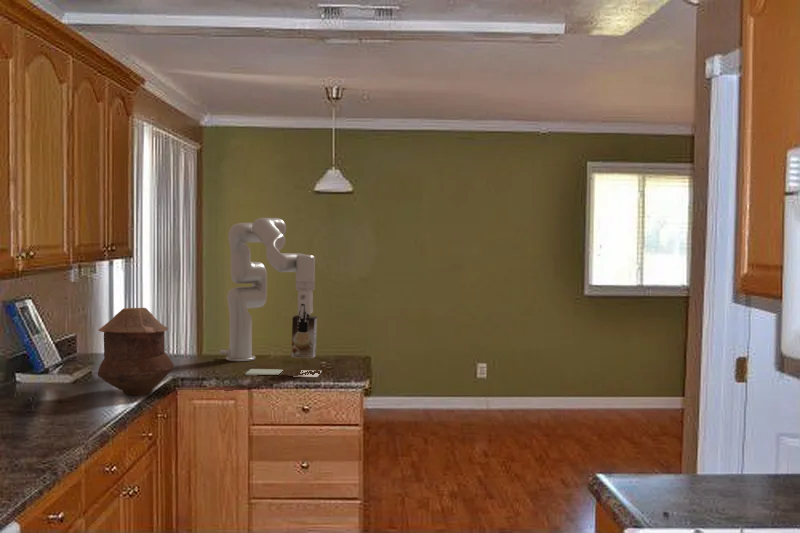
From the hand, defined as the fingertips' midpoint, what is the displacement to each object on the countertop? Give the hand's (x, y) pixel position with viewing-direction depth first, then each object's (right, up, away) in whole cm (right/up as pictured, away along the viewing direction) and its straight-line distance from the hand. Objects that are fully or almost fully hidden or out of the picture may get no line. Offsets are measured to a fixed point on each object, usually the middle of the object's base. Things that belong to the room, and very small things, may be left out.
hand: (304, 330), depth 348 cm
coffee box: (0, -11, +1) cm, 11 cm away
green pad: (-16, -17, 0) cm, 23 cm away
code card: (0, -17, +1) cm, 17 cm away
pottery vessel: (-55, -19, -41) cm, 71 cm away
